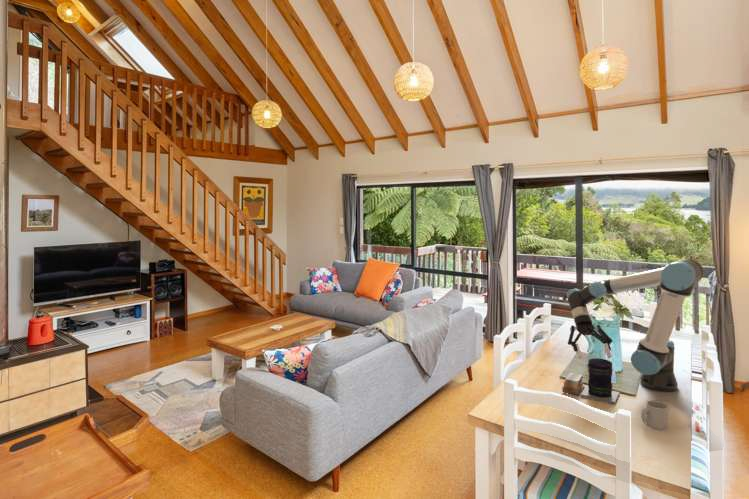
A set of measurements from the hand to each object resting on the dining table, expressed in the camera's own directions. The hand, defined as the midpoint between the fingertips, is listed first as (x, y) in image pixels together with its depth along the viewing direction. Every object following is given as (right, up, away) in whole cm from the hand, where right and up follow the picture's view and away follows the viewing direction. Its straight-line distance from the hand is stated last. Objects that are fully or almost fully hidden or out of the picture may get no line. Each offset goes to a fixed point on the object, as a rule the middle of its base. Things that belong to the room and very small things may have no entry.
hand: (594, 357), depth 201 cm
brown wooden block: (-8, -17, +4) cm, 19 cm away
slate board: (+1, -17, -3) cm, 17 cm away
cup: (+8, -20, -31) cm, 37 cm away
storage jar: (+1, -16, -3) cm, 16 cm away
